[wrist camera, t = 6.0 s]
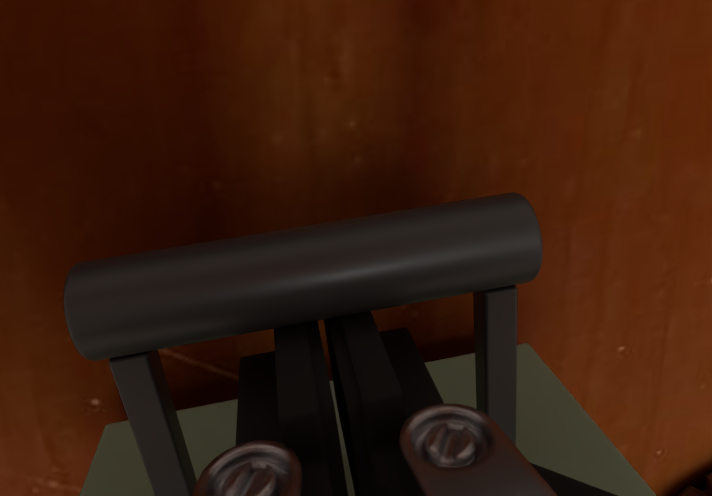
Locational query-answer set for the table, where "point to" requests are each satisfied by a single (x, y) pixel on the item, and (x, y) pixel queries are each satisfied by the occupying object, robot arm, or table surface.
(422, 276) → the drawer
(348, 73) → the table surface
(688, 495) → the mug
